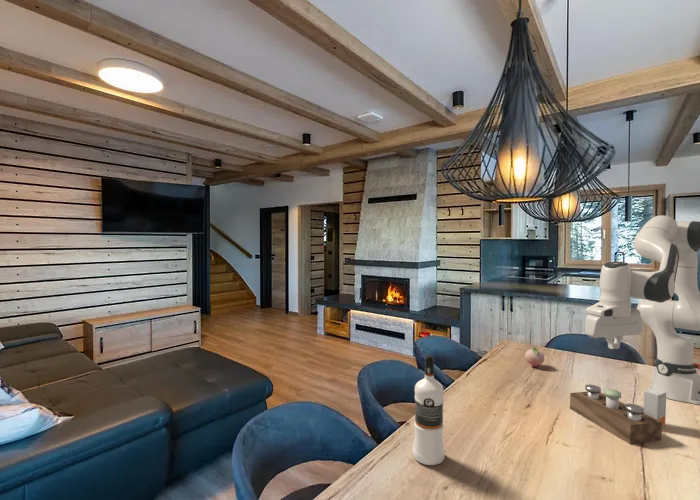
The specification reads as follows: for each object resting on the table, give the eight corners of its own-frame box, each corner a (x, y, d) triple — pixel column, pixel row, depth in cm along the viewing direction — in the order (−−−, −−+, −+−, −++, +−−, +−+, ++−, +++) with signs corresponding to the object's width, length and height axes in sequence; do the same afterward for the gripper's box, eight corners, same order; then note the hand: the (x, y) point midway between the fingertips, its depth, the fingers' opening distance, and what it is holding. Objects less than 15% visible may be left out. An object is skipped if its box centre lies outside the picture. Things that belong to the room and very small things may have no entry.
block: (597, 405, 139) (597, 390, 139) (661, 440, 115) (661, 421, 115) (569, 408, 137) (570, 393, 137) (629, 444, 113) (630, 425, 113)
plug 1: (592, 408, 137) (593, 384, 136) (603, 414, 132) (604, 389, 132) (581, 409, 136) (582, 385, 136) (592, 415, 131) (592, 390, 131)
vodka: (446, 452, 109) (447, 353, 108) (442, 470, 100) (443, 363, 99) (415, 445, 112) (416, 349, 111) (409, 462, 104) (410, 359, 103)
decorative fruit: (522, 363, 186) (522, 344, 186) (539, 364, 185) (539, 344, 185) (528, 369, 177) (528, 349, 177) (546, 370, 176) (546, 350, 176)
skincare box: (657, 430, 121) (658, 395, 121) (642, 424, 125) (643, 390, 125) (665, 426, 124) (667, 392, 124) (651, 420, 128) (652, 387, 127)
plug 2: (632, 430, 121) (633, 403, 121) (647, 437, 116) (647, 409, 116) (620, 431, 120) (621, 404, 120) (634, 439, 115) (635, 411, 115)
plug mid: (611, 413, 129) (612, 388, 129) (624, 420, 124) (624, 394, 124) (600, 415, 128) (600, 389, 128) (612, 421, 123) (612, 395, 123)
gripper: (631, 305, 130) (630, 343, 130) (582, 308, 126) (581, 347, 127) (648, 309, 124) (647, 349, 124) (597, 312, 120) (596, 353, 120)
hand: (613, 348), depth 125 cm, fingers closed
